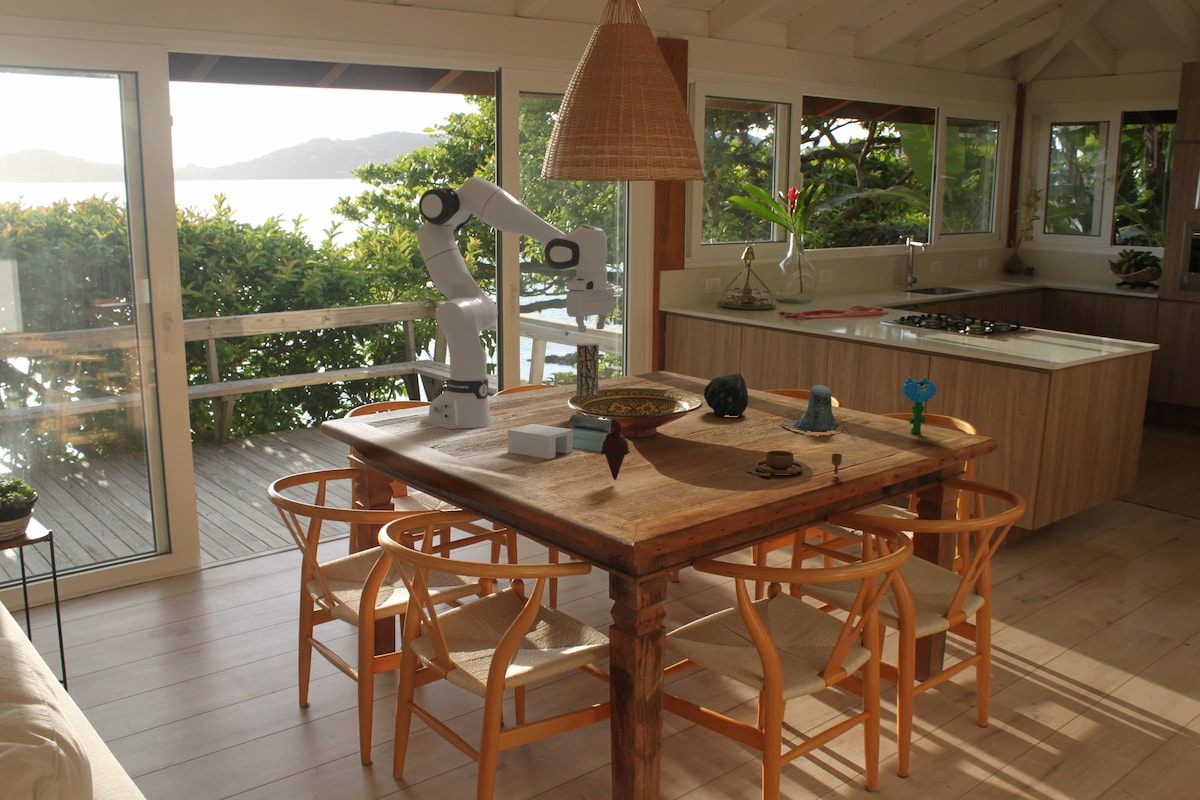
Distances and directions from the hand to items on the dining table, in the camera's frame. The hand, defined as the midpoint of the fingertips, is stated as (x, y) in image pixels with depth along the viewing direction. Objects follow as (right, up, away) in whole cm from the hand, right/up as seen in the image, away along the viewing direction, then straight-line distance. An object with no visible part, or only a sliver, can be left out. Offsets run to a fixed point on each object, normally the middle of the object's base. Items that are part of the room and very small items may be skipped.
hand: (591, 330), depth 299 cm
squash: (+43, -27, +33) cm, 60 cm away
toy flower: (+96, -32, +6) cm, 101 cm away
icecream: (+6, -40, -46) cm, 61 cm away
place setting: (+52, -39, -36) cm, 74 cm away
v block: (+1, -33, -7) cm, 34 cm away
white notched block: (-14, -34, -17) cm, 41 cm away
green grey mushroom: (+67, -32, +18) cm, 76 cm away
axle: (+1, -29, -8) cm, 30 cm away
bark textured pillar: (-2, -27, +27) cm, 38 cm away
